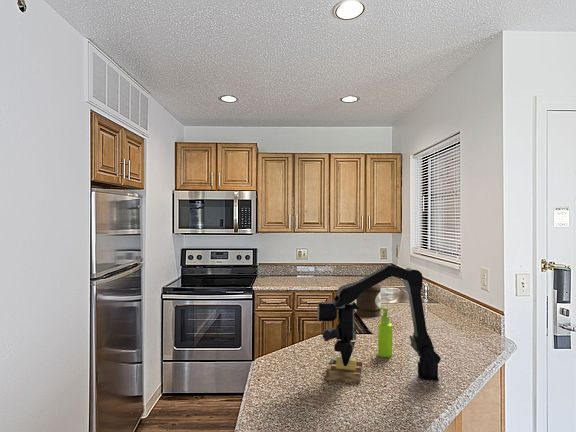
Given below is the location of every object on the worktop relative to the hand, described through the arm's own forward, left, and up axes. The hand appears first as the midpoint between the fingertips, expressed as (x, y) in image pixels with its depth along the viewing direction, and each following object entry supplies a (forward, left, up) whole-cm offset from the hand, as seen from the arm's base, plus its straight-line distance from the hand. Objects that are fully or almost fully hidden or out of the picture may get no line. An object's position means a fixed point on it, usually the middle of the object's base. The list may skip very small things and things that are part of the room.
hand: (345, 364), depth 151 cm
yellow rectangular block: (0, 0, -1) cm, 1 cm away
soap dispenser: (-13, -30, -5) cm, 34 cm away
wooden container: (-3, -109, -5) cm, 109 cm away
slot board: (+1, -3, -5) cm, 6 cm away
